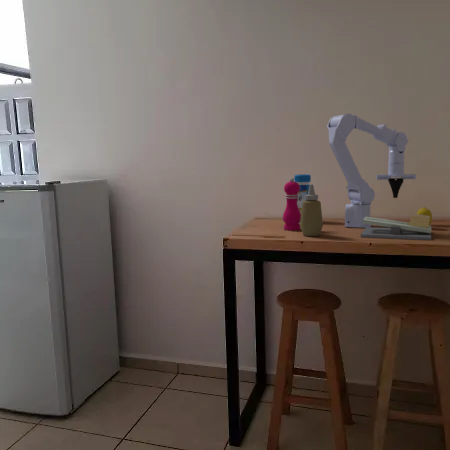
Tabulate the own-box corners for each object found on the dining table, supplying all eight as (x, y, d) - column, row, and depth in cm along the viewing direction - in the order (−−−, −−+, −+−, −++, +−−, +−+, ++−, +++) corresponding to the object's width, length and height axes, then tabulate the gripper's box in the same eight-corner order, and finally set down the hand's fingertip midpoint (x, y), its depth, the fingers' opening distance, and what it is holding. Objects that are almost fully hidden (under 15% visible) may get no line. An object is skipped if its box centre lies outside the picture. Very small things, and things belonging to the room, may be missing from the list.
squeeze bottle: (321, 237, 158) (321, 185, 156) (297, 236, 161) (297, 185, 159) (324, 233, 166) (324, 183, 163) (302, 232, 169) (302, 183, 166)
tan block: (408, 228, 156) (410, 215, 155) (409, 225, 160) (411, 213, 159) (427, 230, 154) (429, 217, 153) (427, 228, 158) (429, 215, 157)
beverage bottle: (316, 222, 194) (316, 174, 191) (297, 223, 192) (297, 175, 189) (307, 219, 202) (307, 174, 199) (289, 220, 200) (289, 174, 197)
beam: (362, 226, 160) (362, 219, 159) (364, 222, 168) (365, 216, 167) (430, 236, 152) (431, 229, 151) (430, 232, 160) (431, 225, 159)
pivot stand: (360, 237, 157) (360, 226, 156) (366, 229, 171) (366, 220, 171) (431, 240, 148) (431, 229, 148) (430, 232, 163) (430, 222, 162)
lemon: (433, 229, 168) (434, 207, 167) (417, 229, 169) (417, 208, 168) (429, 227, 173) (430, 206, 172) (414, 227, 174) (414, 206, 173)
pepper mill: (303, 228, 179) (303, 176, 176) (298, 231, 173) (298, 177, 170) (285, 227, 182) (285, 177, 179) (280, 230, 176) (279, 178, 173)
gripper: (377, 164, 178) (377, 198, 181) (417, 163, 175) (416, 198, 177) (376, 163, 185) (375, 197, 187) (414, 162, 182) (413, 196, 184)
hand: (395, 197), depth 183 cm, fingers closed
